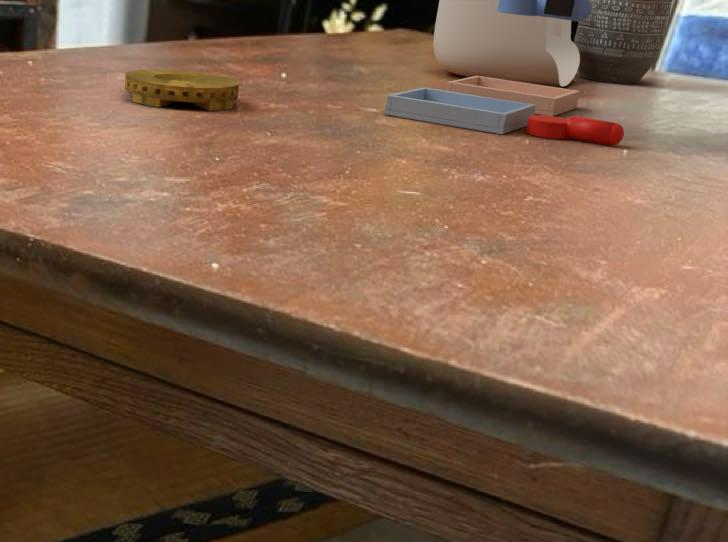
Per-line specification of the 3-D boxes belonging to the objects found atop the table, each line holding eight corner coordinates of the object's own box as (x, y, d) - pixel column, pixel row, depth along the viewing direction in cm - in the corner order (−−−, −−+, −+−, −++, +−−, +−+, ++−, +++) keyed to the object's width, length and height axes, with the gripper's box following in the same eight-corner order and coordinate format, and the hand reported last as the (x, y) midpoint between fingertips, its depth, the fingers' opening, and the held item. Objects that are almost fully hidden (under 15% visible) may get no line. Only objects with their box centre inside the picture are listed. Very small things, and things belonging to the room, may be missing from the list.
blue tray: (532, 124, 121) (536, 104, 120) (502, 134, 114) (506, 114, 113) (419, 105, 127) (422, 87, 126) (384, 114, 119) (387, 94, 118)
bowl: (447, 63, 167) (462, -24, 161) (577, 80, 160) (597, -10, 154) (410, 75, 151) (426, -21, 145) (553, 95, 144) (575, -5, 138)
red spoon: (625, 144, 114) (631, 122, 113) (615, 149, 111) (621, 126, 110) (532, 129, 118) (537, 107, 117) (520, 133, 115) (524, 111, 114)
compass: (230, 95, 123) (232, 74, 122) (243, 113, 113) (245, 91, 112) (123, 87, 122) (124, 66, 121) (125, 105, 112) (126, 83, 111)
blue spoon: (594, 22, 116) (600, -1, 115) (582, 23, 113) (588, 0, 112) (504, 9, 120) (509, -13, 119) (491, 11, 117) (495, -12, 116)
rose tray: (576, 108, 135) (580, 90, 134) (552, 116, 127) (556, 98, 126) (472, 92, 141) (476, 75, 140) (444, 99, 133) (447, 81, 132)
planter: (643, 88, 158) (668, -10, 152) (558, 76, 163) (579, -20, 157) (657, 81, 167) (682, -12, 161) (576, 70, 172) (597, -21, 166)
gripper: (603, -247, 111) (547, 8, 123) (559, -272, 100) (502, 12, 111) (680, -245, 108) (615, 17, 120) (644, -271, 97) (576, 22, 108)
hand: (561, 14), depth 115 cm, fingers closed on blue spoon, 2 cm apart
